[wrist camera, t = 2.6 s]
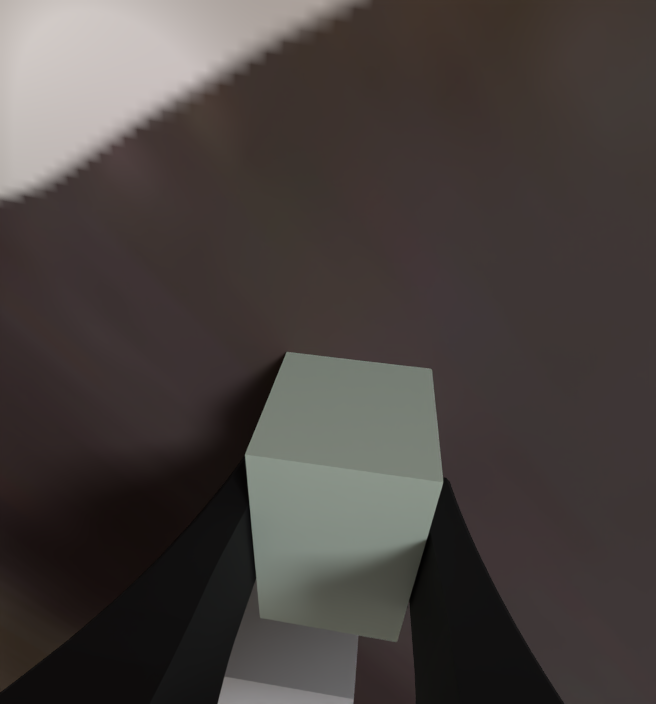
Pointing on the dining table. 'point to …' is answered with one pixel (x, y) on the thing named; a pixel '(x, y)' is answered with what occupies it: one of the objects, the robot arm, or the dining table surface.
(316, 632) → the grey brick
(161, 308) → the dining table surface
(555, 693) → the robot arm
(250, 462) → the sage brick
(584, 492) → the dining table surface
